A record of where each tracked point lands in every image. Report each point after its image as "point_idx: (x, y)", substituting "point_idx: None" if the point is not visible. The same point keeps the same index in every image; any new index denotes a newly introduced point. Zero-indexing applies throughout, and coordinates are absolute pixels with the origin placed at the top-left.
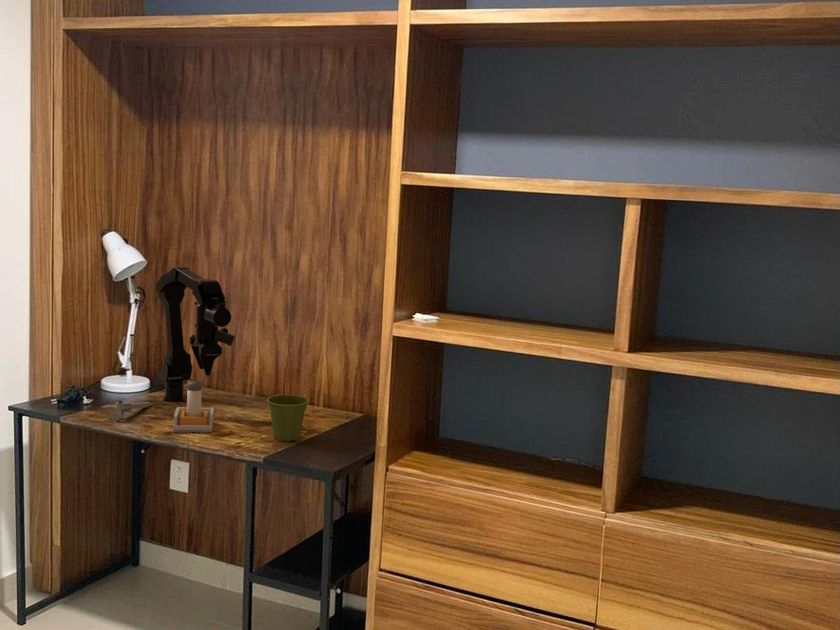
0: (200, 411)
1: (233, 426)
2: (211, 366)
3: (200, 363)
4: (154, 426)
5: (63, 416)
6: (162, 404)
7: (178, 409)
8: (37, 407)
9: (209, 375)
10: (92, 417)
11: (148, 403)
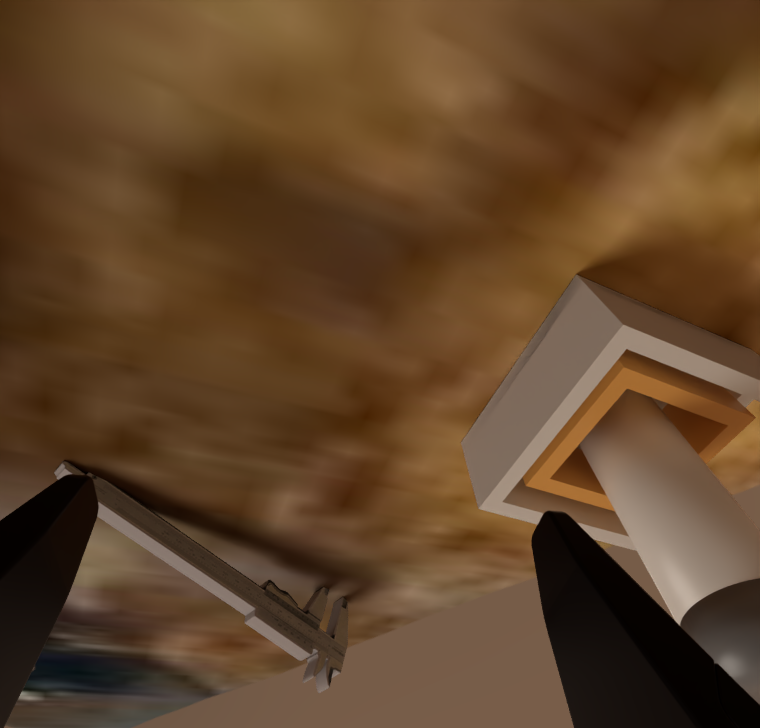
0: (691, 446)
1: (741, 179)
2: (691, 654)
3: (47, 592)
4: (479, 524)
5: (225, 691)
6: (49, 414)
7: (529, 511)
8: (90, 722)
9: (561, 511)
10: (260, 645)
11: (99, 497)
